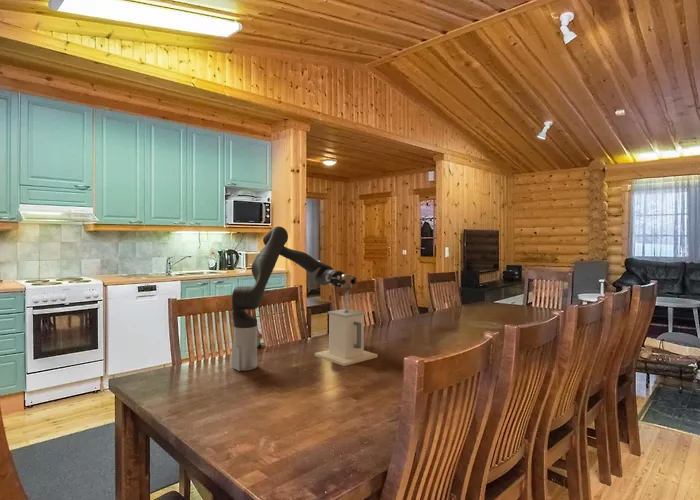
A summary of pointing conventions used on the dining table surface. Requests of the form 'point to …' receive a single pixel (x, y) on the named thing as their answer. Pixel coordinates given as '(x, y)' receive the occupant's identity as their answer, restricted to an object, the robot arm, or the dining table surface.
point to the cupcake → (259, 337)
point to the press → (346, 338)
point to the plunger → (346, 287)
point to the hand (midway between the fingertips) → (349, 282)
